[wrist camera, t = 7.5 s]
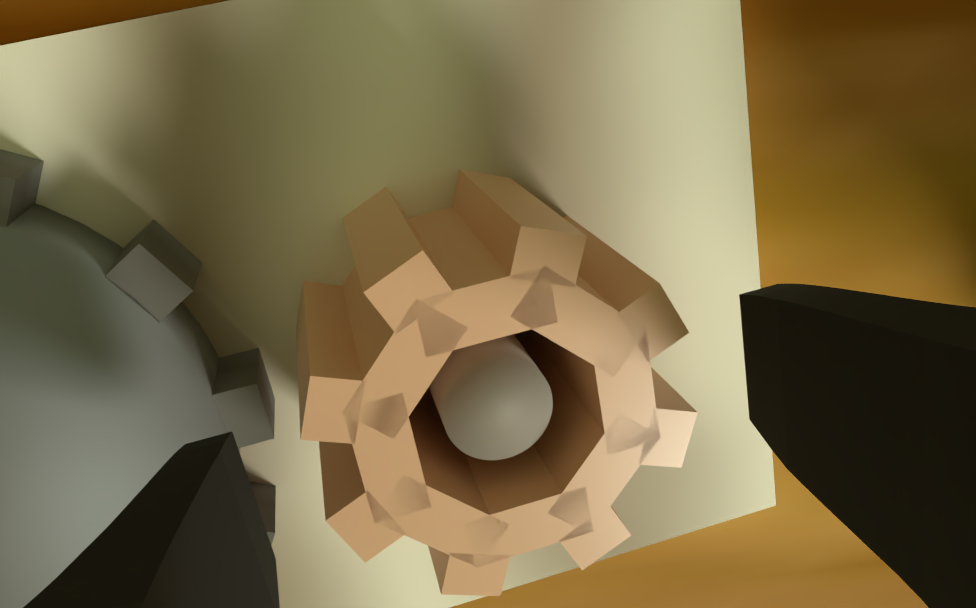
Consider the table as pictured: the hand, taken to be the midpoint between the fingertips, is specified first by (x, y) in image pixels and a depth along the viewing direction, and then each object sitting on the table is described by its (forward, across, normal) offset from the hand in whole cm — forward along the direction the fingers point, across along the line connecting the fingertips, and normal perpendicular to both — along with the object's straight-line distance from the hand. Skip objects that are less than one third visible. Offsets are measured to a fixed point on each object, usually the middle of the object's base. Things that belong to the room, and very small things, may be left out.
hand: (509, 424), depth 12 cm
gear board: (+5, +4, 0) cm, 6 cm away
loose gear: (+4, 0, 0) cm, 4 cm away
